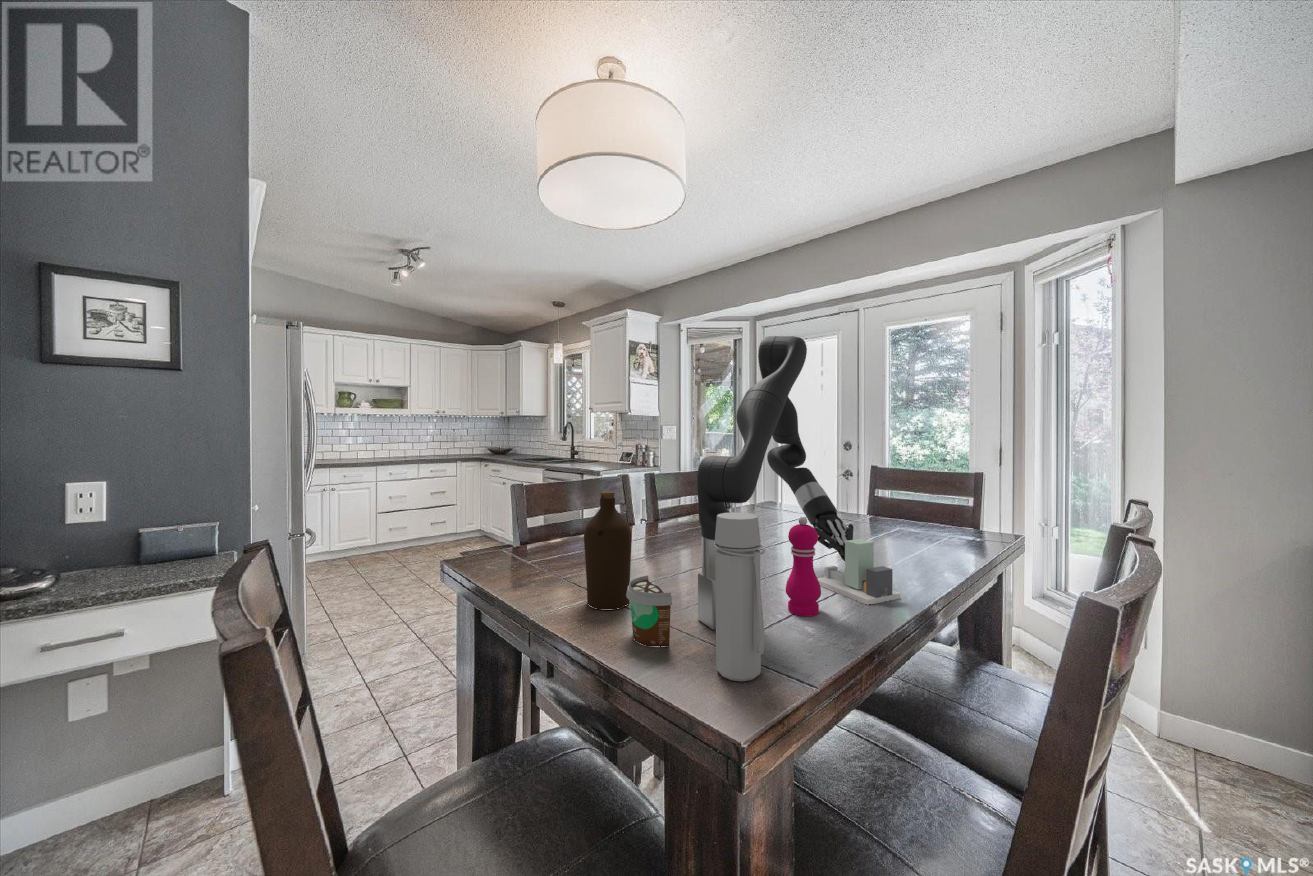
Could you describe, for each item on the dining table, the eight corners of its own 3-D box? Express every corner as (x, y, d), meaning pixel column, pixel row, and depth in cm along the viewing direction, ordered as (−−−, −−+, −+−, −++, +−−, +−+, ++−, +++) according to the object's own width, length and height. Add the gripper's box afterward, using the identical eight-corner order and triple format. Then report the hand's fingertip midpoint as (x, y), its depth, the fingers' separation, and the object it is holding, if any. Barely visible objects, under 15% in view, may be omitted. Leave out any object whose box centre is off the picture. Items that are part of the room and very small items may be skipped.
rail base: (867, 605, 109) (867, 573, 109) (813, 583, 124) (813, 555, 124) (900, 598, 113) (900, 567, 113) (844, 578, 128) (844, 551, 128)
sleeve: (858, 589, 115) (858, 544, 114) (845, 584, 118) (845, 540, 118) (873, 586, 116) (873, 542, 116) (860, 581, 120) (860, 538, 120)
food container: (618, 629, 97) (617, 578, 97) (647, 624, 99) (647, 574, 99) (639, 656, 85) (639, 598, 85) (672, 649, 88) (672, 593, 87)
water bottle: (704, 669, 80) (703, 514, 80) (741, 657, 84) (740, 510, 84) (743, 695, 72) (742, 523, 72) (782, 680, 76) (781, 518, 76)
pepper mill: (825, 617, 102) (825, 520, 102) (790, 617, 102) (789, 520, 102) (815, 605, 109) (815, 514, 109) (782, 605, 109) (781, 514, 109)
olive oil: (638, 608, 108) (637, 493, 108) (589, 614, 105) (588, 496, 104) (625, 593, 118) (624, 488, 118) (580, 598, 115) (579, 490, 114)
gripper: (801, 496, 125) (837, 555, 114) (842, 493, 131) (880, 549, 120) (788, 513, 130) (821, 572, 119) (827, 510, 136) (862, 566, 125)
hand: (850, 560), depth 120 cm, fingers closed
